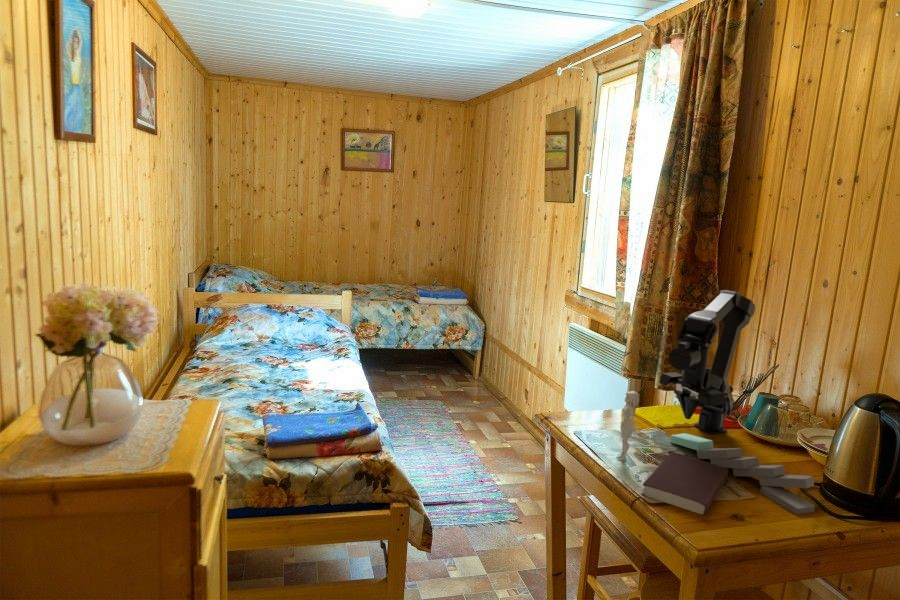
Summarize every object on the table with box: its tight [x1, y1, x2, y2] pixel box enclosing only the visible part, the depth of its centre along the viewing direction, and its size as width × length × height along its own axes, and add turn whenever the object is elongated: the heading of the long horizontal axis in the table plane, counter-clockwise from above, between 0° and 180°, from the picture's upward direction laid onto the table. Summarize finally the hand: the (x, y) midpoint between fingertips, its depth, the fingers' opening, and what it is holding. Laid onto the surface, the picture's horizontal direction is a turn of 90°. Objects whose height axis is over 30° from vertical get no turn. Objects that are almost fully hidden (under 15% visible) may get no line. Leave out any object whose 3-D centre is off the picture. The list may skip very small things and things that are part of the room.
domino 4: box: [758, 474, 815, 489], centre depth 143 cm, size 5×2×10 cm
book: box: [640, 451, 730, 516], centre depth 144 cm, size 14×22×4 cm, turn 145°
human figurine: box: [615, 390, 640, 462], centre depth 156 cm, size 12×4×18 cm, turn 175°
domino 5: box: [760, 486, 816, 516], centre depth 140 cm, size 5×2×10 cm
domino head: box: [670, 432, 714, 451], centre depth 166 cm, size 5×2×10 cm
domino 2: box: [709, 456, 760, 469], centre depth 153 cm, size 5×2×10 cm
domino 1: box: [696, 447, 744, 460], centre depth 157 cm, size 5×2×10 cm
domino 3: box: [731, 464, 786, 478], centre depth 148 cm, size 5×2×10 cm
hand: (687, 418), depth 167 cm, fingers closed
